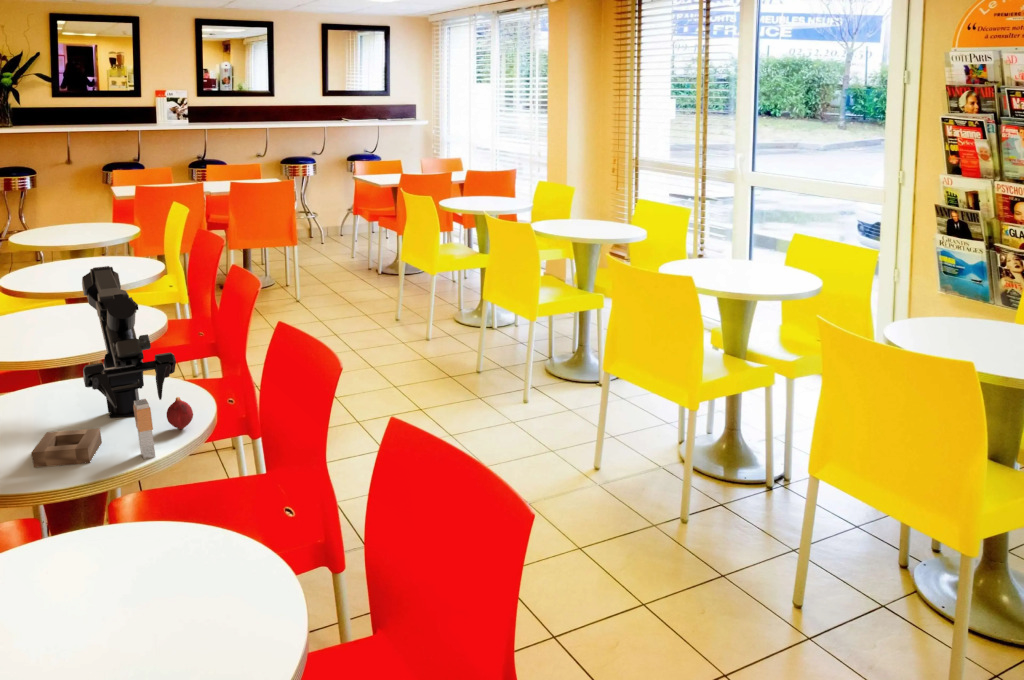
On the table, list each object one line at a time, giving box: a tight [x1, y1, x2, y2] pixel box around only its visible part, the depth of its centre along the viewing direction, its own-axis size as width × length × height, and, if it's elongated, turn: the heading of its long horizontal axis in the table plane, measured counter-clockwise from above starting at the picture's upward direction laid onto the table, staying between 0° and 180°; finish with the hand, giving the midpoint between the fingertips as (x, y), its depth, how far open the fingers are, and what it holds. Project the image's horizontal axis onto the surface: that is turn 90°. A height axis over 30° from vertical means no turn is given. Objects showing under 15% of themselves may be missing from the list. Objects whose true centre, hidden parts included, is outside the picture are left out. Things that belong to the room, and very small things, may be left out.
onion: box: [166, 396, 194, 430], centre depth 199 cm, size 6×6×8 cm
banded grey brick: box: [133, 398, 156, 460], centre depth 185 cm, size 4×3×12 cm
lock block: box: [30, 427, 103, 469], centre depth 186 cm, size 11×11×4 cm
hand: (138, 402), depth 186 cm, fingers open, 9 cm apart
